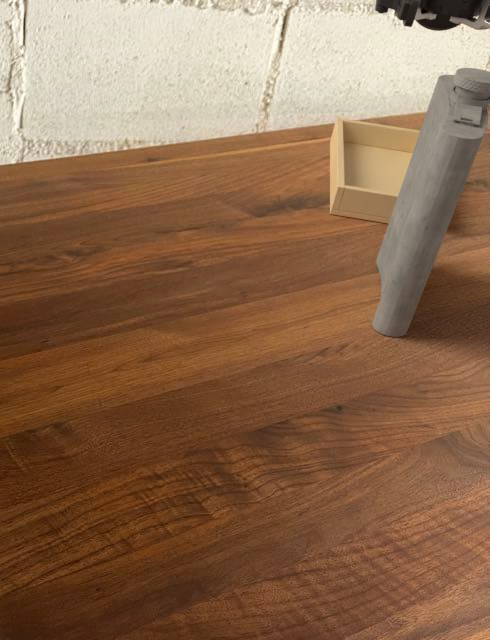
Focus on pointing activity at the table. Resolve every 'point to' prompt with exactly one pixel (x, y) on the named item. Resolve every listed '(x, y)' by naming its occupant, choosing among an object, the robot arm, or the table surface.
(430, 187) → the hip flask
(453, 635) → the table surface
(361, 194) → the tray
